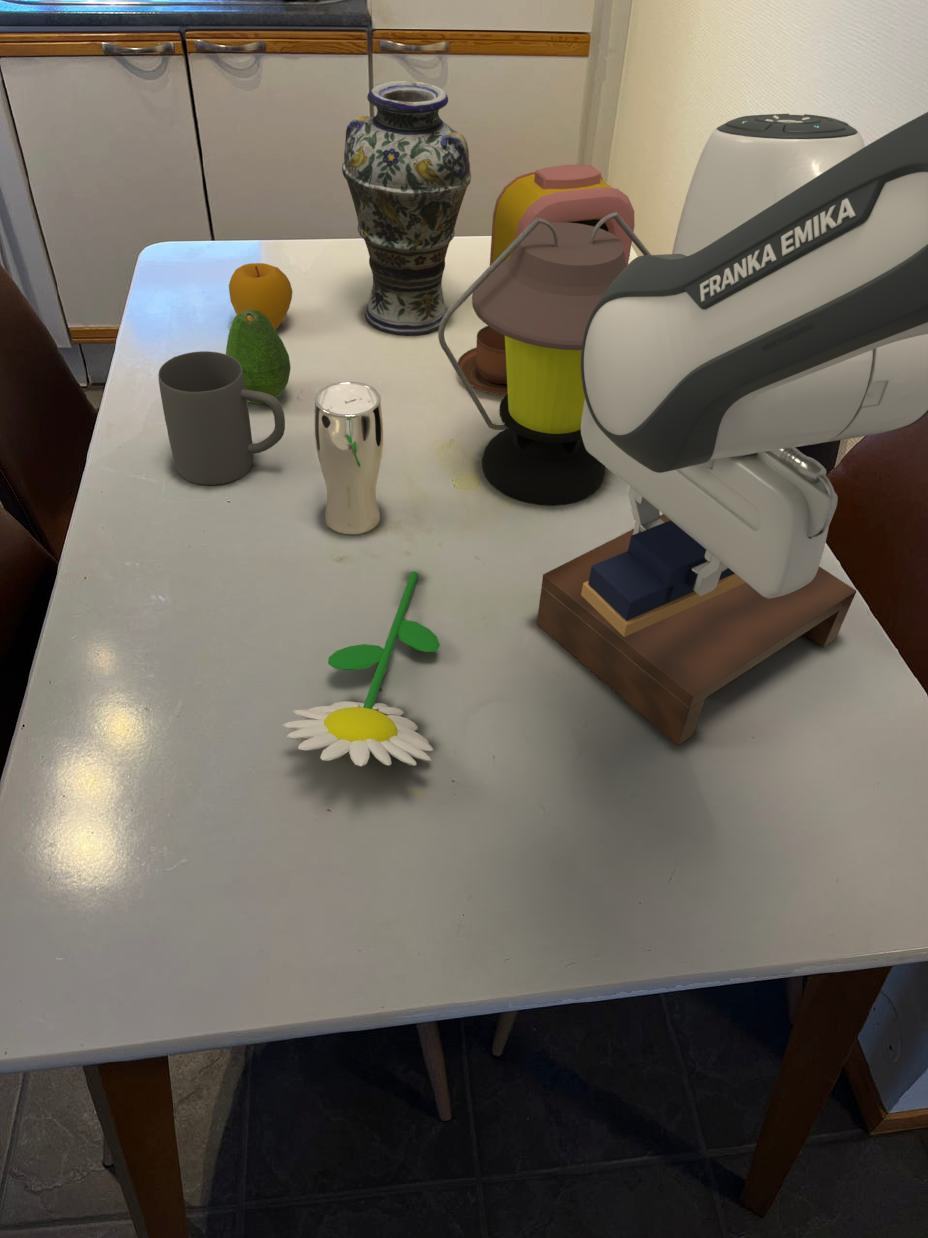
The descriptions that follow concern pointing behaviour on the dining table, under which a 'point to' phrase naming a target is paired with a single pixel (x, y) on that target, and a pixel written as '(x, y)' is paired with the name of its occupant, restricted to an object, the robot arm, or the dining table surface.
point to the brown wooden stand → (684, 637)
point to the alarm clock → (558, 204)
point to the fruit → (259, 353)
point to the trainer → (650, 579)
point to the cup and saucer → (486, 362)
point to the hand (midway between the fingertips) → (672, 563)
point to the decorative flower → (369, 704)
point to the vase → (406, 201)
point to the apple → (261, 291)
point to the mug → (212, 417)
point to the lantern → (543, 355)
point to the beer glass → (349, 454)
